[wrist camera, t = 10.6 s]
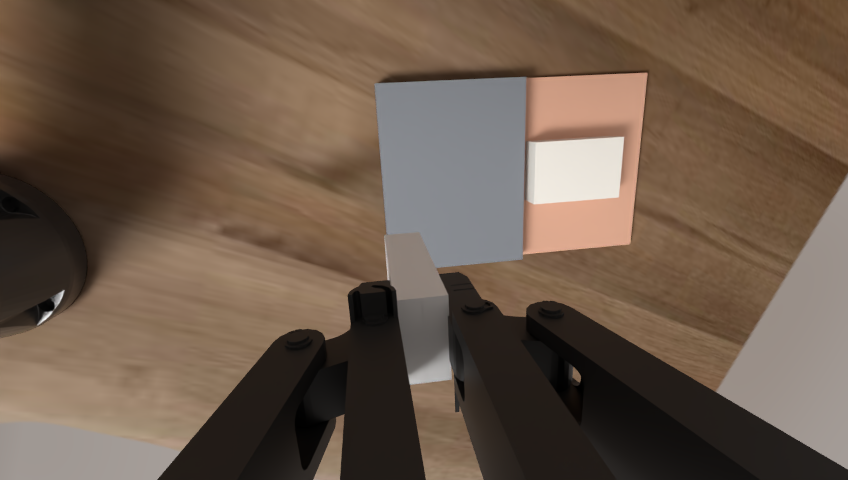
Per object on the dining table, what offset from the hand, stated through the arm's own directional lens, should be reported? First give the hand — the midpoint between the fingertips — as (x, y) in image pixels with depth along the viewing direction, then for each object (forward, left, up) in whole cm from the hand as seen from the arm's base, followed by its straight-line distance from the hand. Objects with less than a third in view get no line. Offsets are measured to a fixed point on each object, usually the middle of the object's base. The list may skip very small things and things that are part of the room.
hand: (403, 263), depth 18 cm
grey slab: (+7, 0, -24) cm, 25 cm away
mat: (+21, 0, -24) cm, 32 cm away
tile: (+19, 0, -24) cm, 31 cm away
